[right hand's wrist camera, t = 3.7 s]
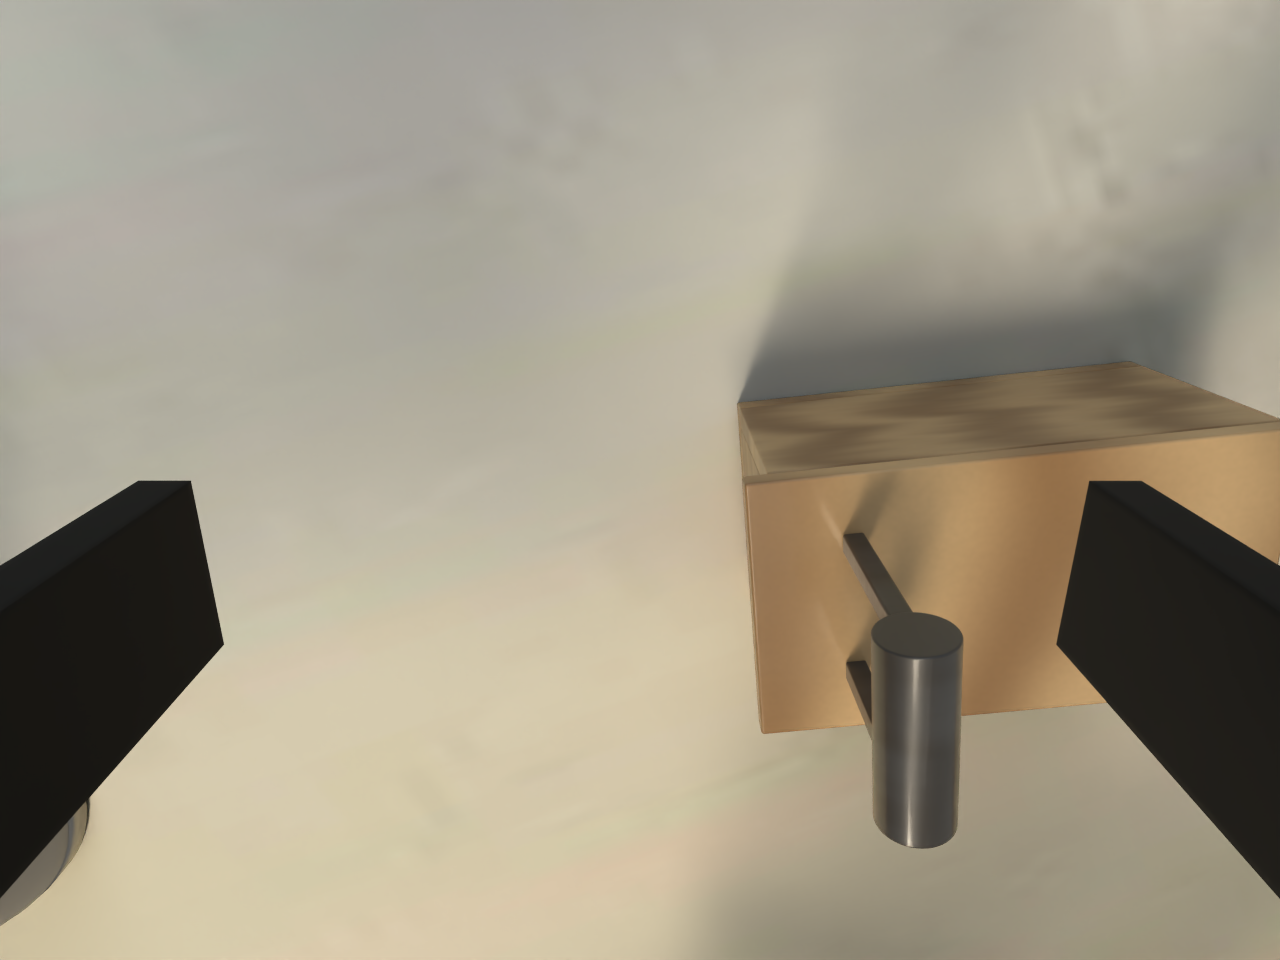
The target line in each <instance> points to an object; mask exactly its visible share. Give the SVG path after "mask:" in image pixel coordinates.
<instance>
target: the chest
mask: <svg viewBox="0 0 1280 960" xmlns="http://www.w3.org/2000/svg"><path fill="white" fill-rule="evenodd" d="M737 408H738V422H739V436H740V451H741V465H742V478H743V477H744V476H753V475H763V474H772V473H782V472H792V471H802V470H812V469H821V468H831V467H841V466H851V465H860V464H870V463H880V462H890V461H900V460H909V459H919V458H929V457H939V456H949V455H958V454H968V453H978V452H988V451H997V450H1007V449H1017V448H1027V447H1037V446H1046V445H1056V444H1066V443H1076V442H1085V441H1095V440H1105V439H1115V438H1125V437H1134V436H1144V435H1154V434H1164V433H1173V432H1183V431H1193V430H1203V429H1213V428H1222V427H1232V426H1242V425H1252V424H1261V423H1271V422H1280V419H1279V418H1276V417H1274V416H1271V415H1268V414H1266V413H1263V412H1261V411H1258V410H1255V409H1253V408H1250V407H1248V406H1245V405H1242V404H1240V403H1237V402H1235V401H1232V400H1229V399H1227V398H1224V397H1222V396H1219V395H1216V394H1214V393H1211V392H1209V391H1206V390H1203V389H1201V388H1198V387H1196V386H1193V385H1190V384H1188V383H1185V382H1183V381H1180V380H1177V379H1175V378H1172V377H1170V376H1167V375H1164V374H1162V373H1159V372H1157V371H1154V370H1151V369H1149V368H1146V367H1144V366H1141V365H1138V364H1136V363H1133V362H1120V363H1111V364H1101V365H1092V366H1082V367H1073V368H1063V369H1054V370H1044V371H1035V372H1025V373H1016V374H1006V375H997V376H987V377H978V378H968V379H959V380H950V381H940V382H931V383H921V384H912V385H902V386H893V387H883V388H874V389H864V390H855V391H845V392H836V393H826V394H817V395H807V396H798V397H788V398H779V399H769V400H760V401H750V402H741V403H738V404H737Z"/></svg>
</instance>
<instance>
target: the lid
mask: <svg viewBox="0 0 1280 960" xmlns="http://www.w3.org/2000/svg"><path fill="white" fill-rule="evenodd" d="M1089 481H1143V482H1144V483H1146V484H1148V485H1149V486H1151V487H1153V488H1154V489H1156V490H1157V491H1159V492H1161V493H1162V494H1164V495H1166V496H1167V497H1169V498H1170V499H1172V500H1174V501H1175V502H1177V503H1179V504H1180V505H1182V506H1183V507H1185V508H1187V509H1188V510H1190V511H1192V512H1193V513H1195V514H1196V515H1198V516H1200V517H1201V518H1203V519H1205V520H1206V521H1208V522H1209V523H1211V524H1213V525H1214V526H1216V527H1218V528H1219V529H1221V530H1222V531H1224V532H1226V533H1227V534H1229V535H1231V536H1232V537H1234V538H1235V539H1237V540H1239V541H1240V542H1242V543H1244V544H1245V545H1247V546H1248V547H1250V548H1252V549H1253V550H1255V551H1257V552H1258V553H1260V554H1261V555H1263V556H1265V557H1266V558H1268V559H1270V560H1271V561H1273V562H1274V563H1276V564H1278V562H1279V556H1280V422H1271V423H1261V424H1252V425H1242V426H1232V427H1222V428H1213V429H1203V430H1193V431H1183V432H1173V433H1164V434H1154V435H1144V436H1134V437H1125V438H1115V439H1105V440H1095V441H1085V442H1076V443H1066V444H1056V445H1046V446H1037V447H1027V448H1017V449H1007V450H997V451H988V452H978V453H968V454H958V455H949V456H939V457H929V458H919V459H909V460H900V461H890V462H880V463H870V464H860V465H851V466H841V467H831V468H821V469H812V470H802V471H792V472H782V473H772V474H763V475H753V476H744V477H743V478H742V486H743V500H744V514H745V528H746V543H747V557H748V571H749V586H750V600H751V614H752V628H753V643H754V657H755V671H756V685H757V700H758V714H759V723H760V728H761V731H762V733H763V734H767V733H778V732H789V731H800V730H811V729H822V728H833V727H844V726H855V725H866V728H867V730H868V732H869V735H870V737H871V740H872V774H873V817H874V821H875V823H876V825H877V826H878V828H879V829H880V830H881V832H882V833H883V834H884V835H886V836H887V837H888V838H890V839H891V840H893V841H895V842H897V843H899V844H901V845H904V846H908V847H912V848H933V847H937V846H940V845H943V844H944V843H946V842H948V841H949V840H950V839H951V838H952V837H953V836H954V834H955V832H956V830H957V826H958V799H959V768H960V736H961V716H965V715H976V714H987V713H998V712H1009V711H1020V710H1031V709H1042V708H1053V707H1064V706H1075V705H1086V704H1097V703H1107V702H1106V701H1105V700H1104V698H1103V697H1102V696H1101V695H1100V694H1099V693H1098V692H1097V690H1096V689H1095V688H1094V687H1093V686H1092V685H1091V684H1090V682H1089V681H1088V680H1087V679H1086V678H1085V677H1084V676H1083V675H1082V673H1081V672H1080V671H1079V670H1078V669H1077V668H1076V667H1075V665H1074V664H1073V663H1072V662H1071V661H1070V660H1069V659H1068V657H1067V656H1066V655H1065V654H1064V653H1063V652H1062V651H1061V650H1060V648H1059V647H1058V646H1057V645H1056V642H1057V637H1058V632H1059V628H1060V623H1061V618H1062V613H1063V608H1064V603H1065V598H1066V593H1067V588H1068V583H1069V578H1070V573H1071V568H1072V563H1073V558H1074V554H1075V549H1076V544H1077V539H1078V534H1079V529H1080V524H1081V519H1082V514H1083V509H1084V504H1085V499H1086V494H1087V489H1088V484H1089Z"/></svg>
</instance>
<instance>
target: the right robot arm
mask: <svg viewBox="0 0 1280 960" xmlns="http://www.w3.org/2000/svg"><path fill="white" fill-rule="evenodd" d="M223 645H224V642H223V637H222V632H221V628H220V623H219V618H218V613H217V608H216V603H215V598H214V593H213V588H212V583H211V578H210V573H209V568H208V563H207V558H206V554H205V549H204V544H203V539H202V534H201V529H200V524H199V519H198V514H197V509H196V504H195V499H194V494H193V489H192V484H191V481H137V482H136V483H134V484H132V485H131V486H129V487H127V488H126V489H124V490H123V491H121V492H119V493H118V494H116V495H114V496H113V497H111V498H110V499H108V500H106V501H105V502H103V503H101V504H100V505H98V506H97V507H95V508H93V509H92V510H90V511H88V512H87V513H85V514H84V515H82V516H80V517H79V518H77V519H75V520H74V521H72V522H71V523H69V524H67V525H66V526H64V527H62V528H61V529H59V530H58V531H56V532H54V533H53V534H51V535H49V536H48V537H46V538H45V539H43V540H41V541H40V542H38V543H36V544H35V545H33V546H32V547H30V548H28V549H27V550H25V551H23V552H22V553H20V554H19V555H17V556H15V557H14V558H12V559H10V560H9V561H7V562H6V563H4V564H2V565H1V566H0V926H1V925H2V924H4V923H5V922H7V921H8V920H10V919H11V918H13V917H14V916H16V915H17V914H19V913H20V912H22V911H23V910H24V909H26V908H27V907H28V906H29V905H30V904H31V903H32V902H34V901H35V900H36V899H37V898H38V897H39V896H40V895H41V894H43V893H44V892H45V891H46V890H47V889H48V888H49V887H50V886H51V884H52V883H53V882H54V881H55V880H56V879H57V877H58V876H59V875H60V874H61V872H62V871H63V870H64V869H65V868H66V866H67V865H68V864H69V863H70V861H71V860H72V859H73V857H74V856H75V854H76V853H77V851H78V849H79V847H80V844H81V842H82V840H83V836H84V833H85V828H86V822H87V804H86V801H87V799H88V798H89V797H90V796H91V795H92V794H93V793H94V792H95V790H96V789H97V788H98V787H99V786H100V785H101V784H102V782H103V781H104V780H105V779H106V778H107V777H108V776H109V774H110V773H111V772H112V771H113V770H114V769H115V768H116V767H117V765H118V764H119V763H120V762H121V761H122V760H123V759H124V757H125V756H126V755H127V754H128V753H129V752H130V751H131V749H132V748H133V747H134V746H135V745H136V744H137V743H138V742H139V740H140V739H141V738H142V737H143V736H144V735H145V734H146V732H147V731H148V730H149V729H150V728H151V727H152V726H153V725H154V723H155V722H156V721H157V720H158V719H159V718H160V717H161V715H162V714H163V713H164V712H165V711H166V710H167V709H168V707H169V706H170V705H171V704H172V703H173V702H174V701H175V700H176V698H177V697H178V696H179V695H180V694H181V693H182V692H183V690H184V689H185V688H186V687H187V686H188V685H189V684H190V682H191V681H192V680H193V679H194V678H195V677H196V676H197V675H198V673H199V672H200V671H201V670H202V669H203V668H204V667H205V665H206V664H207V663H208V662H209V661H210V660H211V659H212V657H213V656H214V655H215V654H216V653H217V652H218V651H219V650H220V648H221V647H222V646H223ZM1056 645H1057V646H1058V647H1059V648H1060V650H1061V651H1062V652H1063V653H1064V654H1065V655H1066V656H1067V657H1068V659H1069V660H1070V661H1071V662H1072V663H1073V664H1074V665H1075V667H1076V668H1077V669H1078V670H1079V671H1080V672H1081V673H1082V675H1083V676H1084V677H1085V678H1086V679H1087V680H1088V681H1089V682H1090V684H1091V685H1092V686H1093V687H1094V688H1095V689H1096V690H1097V692H1098V693H1099V694H1100V695H1101V696H1102V697H1103V698H1104V700H1105V701H1106V702H1107V703H1108V704H1109V705H1110V706H1111V707H1112V709H1113V710H1114V711H1115V712H1116V713H1117V714H1118V715H1119V717H1120V718H1121V719H1122V720H1123V721H1124V722H1125V723H1126V725H1127V726H1128V727H1129V728H1130V729H1131V730H1132V731H1133V732H1134V734H1135V735H1136V736H1137V737H1138V738H1139V739H1140V740H1141V742H1142V743H1143V744H1144V745H1145V746H1146V747H1147V748H1148V749H1149V751H1150V752H1151V753H1152V754H1153V755H1154V756H1155V757H1156V759H1157V760H1158V761H1159V762H1160V763H1161V764H1162V765H1163V767H1164V768H1165V769H1166V770H1167V771H1168V772H1169V773H1170V774H1171V776H1172V777H1173V778H1174V779H1175V780H1176V781H1177V782H1178V784H1179V785H1180V786H1181V787H1182V788H1183V789H1184V790H1185V792H1186V793H1187V794H1188V795H1189V796H1190V797H1191V798H1192V799H1193V801H1194V802H1195V803H1196V804H1197V805H1198V806H1199V807H1200V809H1201V810H1202V811H1203V812H1204V813H1205V814H1206V815H1207V817H1208V818H1209V819H1210V820H1211V821H1212V822H1213V823H1214V824H1215V826H1216V827H1217V828H1218V829H1219V830H1220V831H1221V832H1222V834H1223V835H1224V836H1225V837H1226V838H1227V839H1228V840H1229V842H1230V843H1231V844H1232V845H1233V846H1234V847H1235V848H1236V849H1237V851H1238V852H1239V853H1240V854H1241V855H1242V856H1243V857H1244V859H1245V860H1246V861H1247V862H1248V863H1249V864H1250V865H1251V866H1252V868H1253V869H1254V870H1255V871H1256V872H1257V873H1258V874H1259V876H1260V877H1261V878H1262V879H1263V880H1264V881H1265V882H1266V884H1267V885H1268V886H1269V887H1270V888H1271V889H1272V890H1273V891H1274V893H1275V894H1276V895H1277V896H1278V897H1279V898H1280V566H1279V565H1278V564H1276V563H1274V562H1273V561H1271V560H1270V559H1268V558H1266V557H1265V556H1263V555H1261V554H1260V553H1258V552H1257V551H1255V550H1253V549H1252V548H1250V547H1248V546H1247V545H1245V544H1244V543H1242V542H1240V541H1239V540H1237V539H1235V538H1234V537H1232V536H1231V535H1229V534H1227V533H1226V532H1224V531H1222V530H1221V529H1219V528H1218V527H1216V526H1214V525H1213V524H1211V523H1209V522H1208V521H1206V520H1205V519H1203V518H1201V517H1200V516H1198V515H1196V514H1195V513H1193V512H1192V511H1190V510H1188V509H1187V508H1185V507H1183V506H1182V505H1180V504H1179V503H1177V502H1175V501H1174V500H1172V499H1170V498H1169V497H1167V496H1166V495H1164V494H1162V493H1161V492H1159V491H1157V490H1156V489H1154V488H1153V487H1151V486H1149V485H1148V484H1146V483H1144V482H1143V481H1089V484H1088V489H1087V494H1086V499H1085V504H1084V509H1083V514H1082V519H1081V524H1080V529H1079V534H1078V539H1077V544H1076V549H1075V554H1074V558H1073V563H1072V568H1071V573H1070V578H1069V583H1068V588H1067V593H1066V598H1065V603H1064V608H1063V613H1062V618H1061V623H1060V628H1059V632H1058V637H1057V642H1056Z"/></svg>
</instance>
